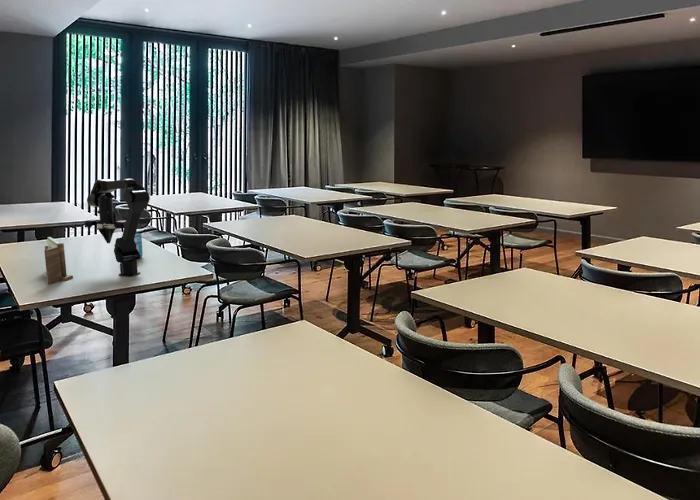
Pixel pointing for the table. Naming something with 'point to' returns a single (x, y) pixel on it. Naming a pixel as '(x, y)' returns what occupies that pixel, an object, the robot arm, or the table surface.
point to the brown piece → (56, 264)
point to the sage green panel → (51, 243)
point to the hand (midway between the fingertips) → (108, 243)
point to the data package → (138, 244)
